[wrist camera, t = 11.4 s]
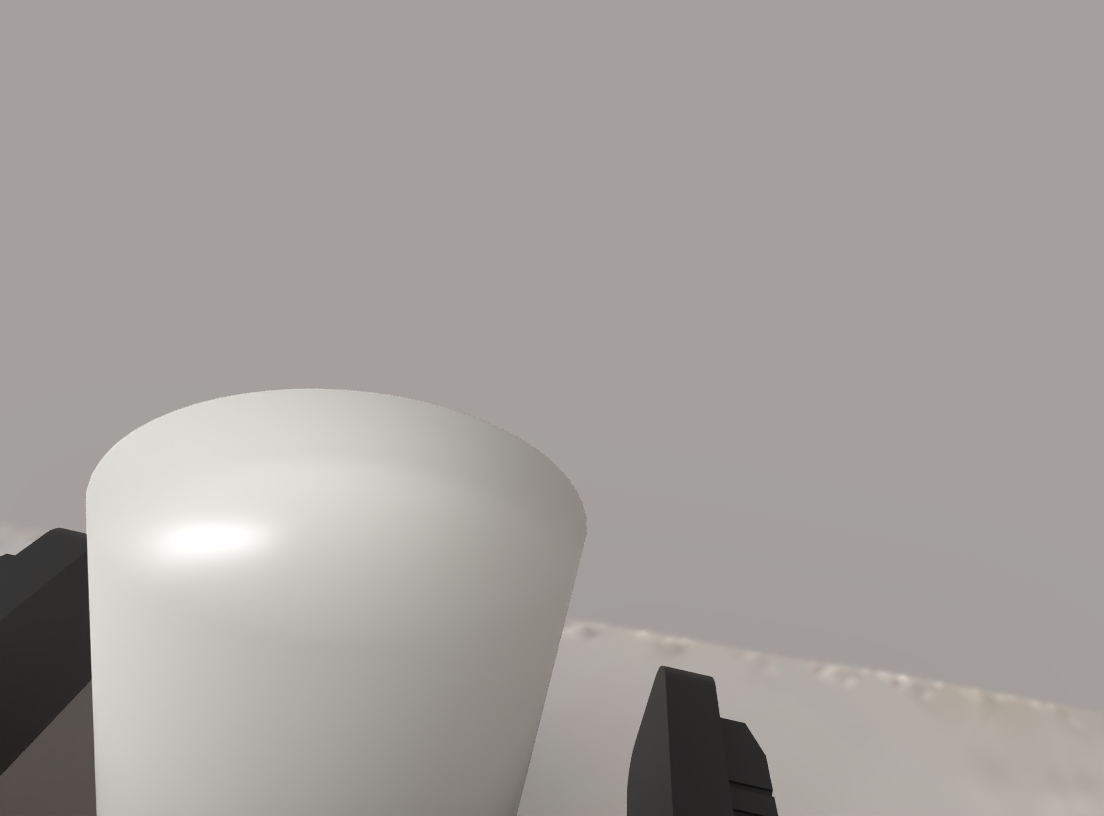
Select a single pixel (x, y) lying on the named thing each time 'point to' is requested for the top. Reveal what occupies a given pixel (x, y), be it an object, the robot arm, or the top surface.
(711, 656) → the top surface
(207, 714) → the white domed canister
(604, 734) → the top surface
